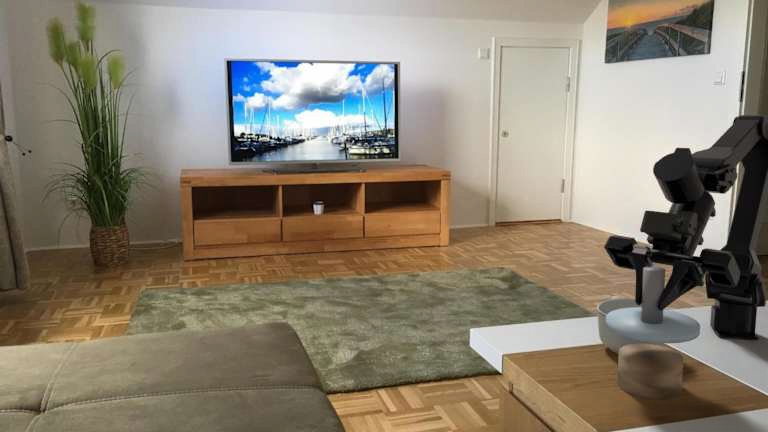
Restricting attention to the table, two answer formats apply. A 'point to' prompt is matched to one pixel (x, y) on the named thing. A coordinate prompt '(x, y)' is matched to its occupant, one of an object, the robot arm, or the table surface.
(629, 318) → the lid
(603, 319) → the teacup
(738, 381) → the table surface
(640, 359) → the stone
